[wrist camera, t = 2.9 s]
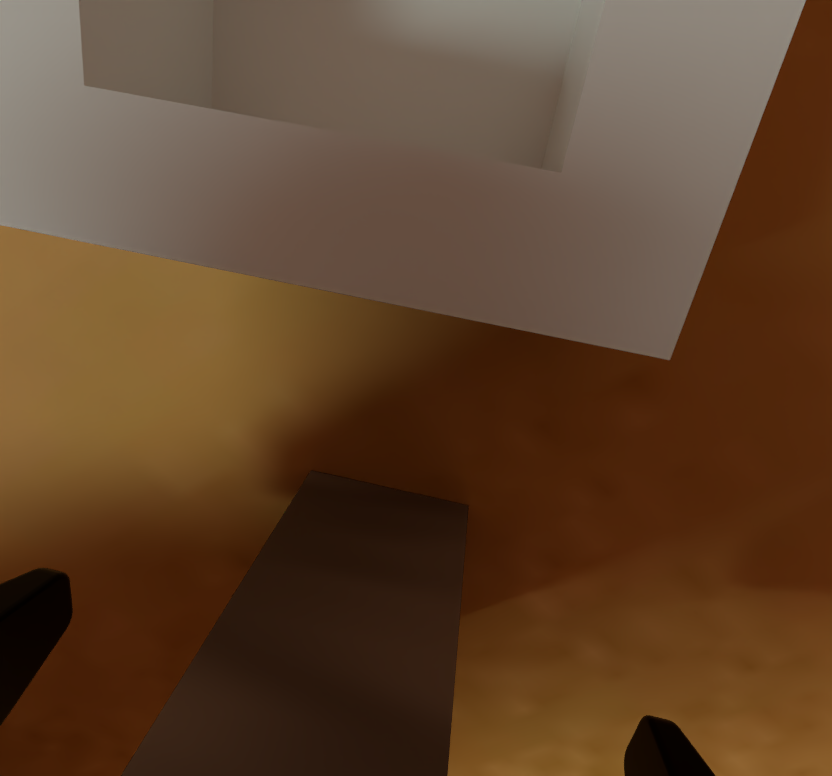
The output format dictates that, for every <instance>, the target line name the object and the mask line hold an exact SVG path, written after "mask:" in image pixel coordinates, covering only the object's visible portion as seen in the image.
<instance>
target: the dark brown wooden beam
mask: <svg viewBox="0 0 832 776" xmlns="http://www.w3.org/2000/svg"><path fill="white" fill-rule="evenodd" d="M467 518H468V505H463V504H459V503H454V502H450V501H446V500H441V499H437V498H432V497H428V496H423V495H419V494H414V493H410V492H405V491H401V490H396V489H392V488H387V487H383V486H378V485H374V484H370V483H365V482H361V481H356V480H352V479H347V478H343V477H338V476H334V475H329V474H325V473H320V472H316V471H310V473H309V474H308V476H307V477H306V479H305V481H304V482H303V484H302V485H301V487H300V489H299V490H298V492H297V493H296V495H295V497H294V498H293V500H292V501H291V503H290V505H289V506H288V508H287V510H286V511H285V513H284V514H283V516H282V518H281V519H280V521H279V522H278V524H277V526H276V527H275V529H274V530H273V532H272V534H271V535H270V537H269V538H268V540H267V542H266V543H265V545H264V547H263V548H262V550H261V551H260V553H259V555H258V556H257V558H256V559H255V561H254V563H253V564H252V566H251V567H250V569H249V571H248V572H247V574H246V575H245V577H244V579H243V580H242V582H241V583H240V585H239V587H238V588H237V590H236V592H235V593H234V595H233V596H232V598H231V600H230V601H229V603H228V604H227V606H226V608H225V609H224V611H223V612H222V614H221V616H220V617H219V619H218V620H217V622H216V624H215V625H214V627H213V629H212V630H211V632H210V633H209V635H208V637H207V638H206V640H205V641H204V643H203V645H202V646H201V648H200V649H199V651H198V653H197V654H196V656H195V657H194V659H193V661H192V662H191V664H190V665H189V667H188V669H187V670H186V672H185V674H184V675H183V677H182V678H181V680H180V682H179V683H178V685H177V686H176V688H175V690H174V691H173V693H172V694H171V696H170V698H169V699H168V701H167V702H166V704H165V706H164V707H163V709H162V711H161V712H160V714H159V715H158V717H157V719H156V720H155V722H154V723H153V725H152V727H151V728H150V730H149V731H148V733H147V735H146V736H145V738H144V739H143V741H142V743H141V744H140V746H139V747H138V749H137V751H136V752H135V754H134V756H133V757H132V759H131V760H130V762H129V764H128V765H127V767H126V768H125V770H124V772H123V773H122V775H121V776H447V772H448V760H449V747H450V734H451V722H452V709H453V696H454V683H455V671H456V658H457V645H458V633H459V620H460V607H461V595H462V582H463V569H464V556H465V544H466V531H467Z"/></svg>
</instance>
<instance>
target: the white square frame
mask: <svg viewBox="0 0 832 776" xmlns="http://www.w3.org/2000/svg"><path fill="white" fill-rule="evenodd" d="M805 2H806V0H0V225H3V226H8V227H13V228H18V229H23V230H28V231H33V232H38V233H42V234H47V235H52V236H57V237H62V238H67V239H72V240H77V241H82V242H87V243H92V244H97V245H102V246H107V247H112V248H117V249H122V250H127V251H132V252H137V253H141V254H146V255H151V256H156V257H161V258H166V259H171V260H176V261H181V262H186V263H191V264H196V265H201V266H206V267H211V268H216V269H221V270H226V271H231V272H236V273H240V274H245V275H250V276H255V277H260V278H265V279H270V280H275V281H280V282H285V283H290V284H295V285H300V286H305V287H310V288H315V289H320V290H325V291H330V292H335V293H339V294H344V295H349V296H354V297H359V298H364V299H369V300H374V301H379V302H384V303H389V304H394V305H399V306H404V307H409V308H414V309H419V310H424V311H429V312H433V313H438V314H443V315H448V316H453V317H458V318H463V319H468V320H473V321H478V322H483V323H488V324H493V325H498V326H503V327H508V328H513V329H518V330H523V331H528V332H532V333H537V334H542V335H547V336H552V337H557V338H562V339H567V340H572V341H577V342H582V343H587V344H592V345H597V346H602V347H607V348H612V349H617V350H622V351H627V352H631V353H636V354H641V355H646V356H651V357H656V358H661V359H666V360H670V358H671V356H672V353H673V351H674V348H675V345H676V343H677V340H678V337H679V335H680V332H681V329H682V327H683V324H684V321H685V319H686V316H687V314H688V311H689V308H690V306H691V303H692V300H693V298H694V295H695V292H696V290H697V287H698V284H699V282H700V279H701V277H702V274H703V271H704V269H705V266H706V263H707V261H708V258H709V255H710V253H711V250H712V247H713V245H714V242H715V240H716V237H717V234H718V232H719V229H720V226H721V224H722V221H723V218H724V216H725V213H726V210H727V208H728V205H729V203H730V200H731V197H732V195H733V192H734V189H735V187H736V184H737V181H738V179H739V176H740V173H741V171H742V168H743V165H744V163H745V160H746V158H747V155H748V152H749V150H750V147H751V144H752V142H753V139H754V136H755V134H756V131H757V128H758V126H759V123H760V121H761V118H762V115H763V113H764V110H765V107H766V105H767V102H768V99H769V97H770V94H771V91H772V89H773V86H774V84H775V81H776V78H777V76H778V73H779V70H780V68H781V65H782V62H783V60H784V57H785V54H786V52H787V49H788V47H789V44H790V41H791V39H792V36H793V33H794V31H795V28H796V25H797V23H798V20H799V17H800V15H801V12H802V9H803V7H804V4H805Z"/></svg>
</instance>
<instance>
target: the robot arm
mask: <svg viewBox="0 0 832 776" xmlns="http://www.w3.org/2000/svg"><path fill="white" fill-rule="evenodd" d="M72 613H73V608H72V598H71V589H70V580H69V577H68V576H67V574H66V573H64V572H60V571H56V570H52V569H48V568H38V569H35V570H32V571H30V572H28V573H25V574H23V575H21V576H18V577H16V578H14V579H11V580H9V581H7V582H4V583H2V584H0V725H1V724H2V723H3V721H4V720H5V718H6V717H7V716H8V714H9V713H10V711H11V710H12V709H13V707H14V706H15V704H16V703H17V701H18V700H19V698H20V697H21V695H22V694H23V692H24V691H25V689H26V688H27V686H28V685H29V684H30V682H31V681H32V679H33V678H34V676H35V675H36V673H37V672H38V670H39V669H40V667H41V666H42V664H43V663H44V661H45V660H46V658H47V657H48V655H49V654H50V652H51V651H52V649H53V648H54V647H55V645H56V644H57V642H58V641H59V639H60V638H61V636H62V635H63V633H64V632H65V630H66V629H67V627H68V625H69V623H70V621H71V618H72ZM624 772H625V776H715V774H714V773H713V772H712V770H711V769H710V768H709V766H708V765H707V764H706V762H705V761H704V760H703V759H702V757H701V756H700V755H699V753H698V752H697V751H696V749H695V748H694V747H693V745H692V744H691V743H690V741H689V740H688V739H687V737H686V736H685V735H684V733H683V732H682V731H681V729H680V728H679V727H678V726H677V725H676V724H675V723H674V722H672V721H670V720H666V719H662V718H658V717H654V716H650V715H646V716H644V717H643V718H642V719H641V721H640V722H639V724H638V727H637V729H636V731H635V733H634V735H633V737H632V739H631V741H630V743H629V745H628V747H627V749H626V752H625V758H624Z"/></svg>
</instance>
